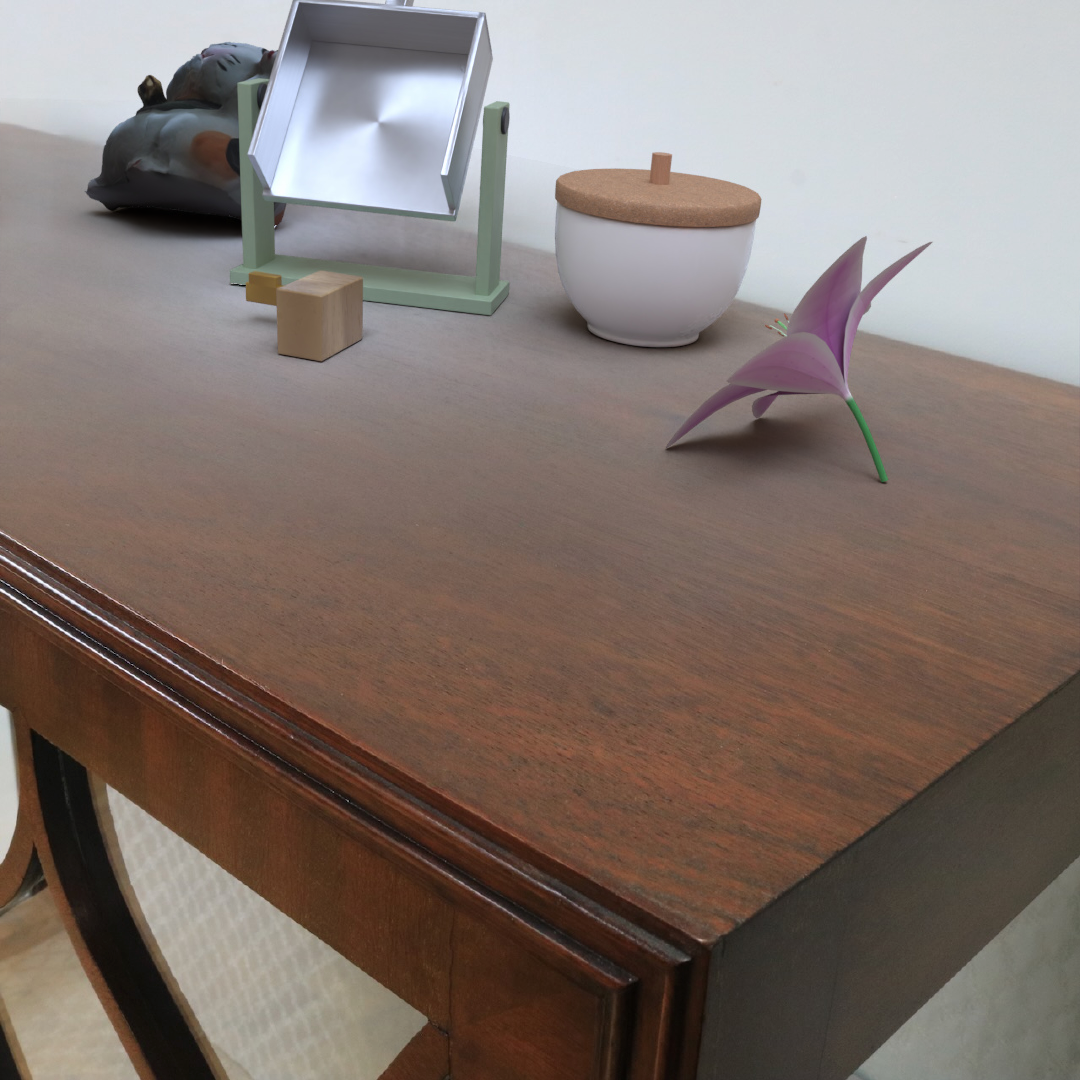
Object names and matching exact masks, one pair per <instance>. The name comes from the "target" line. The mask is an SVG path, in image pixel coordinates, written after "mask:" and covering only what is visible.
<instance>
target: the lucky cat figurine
mask: <svg viewBox="0 0 1080 1080" xmlns="http://www.w3.org/2000/svg"><path fill="white" fill-rule="evenodd" d="M277 52H278V49H276V50H275V49H271V50H268V49H267V48H264V47H261V46H258V45H257V46H256V45H253V44H250V43H242V42H234V41H233V42H231V41H225V42H219V43H212V44H211V43H210V45H209V46H208V47H205V48H203V49H202V50H201V52H200V53H196V54H195V55H193V56H192V57H191V58H190V60H187V61H186V62H185V63H184V64H182V65H180V66H179V67H178V68H177V69H176V71H175V72H174V74H173V76H172V79H171V80H170V82H169V83H168V85H167V87H166V90H165V93H164V89H163V86H162V82H161V80H160V79H158V78H157V77H155V76H154V75H152V74H148V75H146V76H145V78H144V79H143V81H142V82H141V83H140V84H139V85H138V87H137V94H138V96H139V99H140V100H141V103H142V104H143V105H142V107H140V108H139V109H138V110H136V112H135V114H134V116H132V117H129V118H127V119H126V120H124V121H122V122H120V123H118V125H116V126H114V128H113V129H112V131H111V132H109V135H108V136H107V139H106V140H105V144H104V146H103V149H102V159H101V173H100V174H99V176H97V177H95V178H94V177H93V178H91V180H89V182H88V184H87V189H86V190H84V193H85V194H86V195H87V196H88V197H89V198H90V199H91V200H93V201H94V200H95V201H98V202H99V203H101V204H102V205H103V206H104V207H105V208H106V209H107V210H109V211H111V212H114V211H116V210H118V209H138V208H139V209H140V208H141V209H142V208H143V209H144V208H155V209H164V210H172V211H181V212H187V213H196V214H204V215H211V216H220V217H229V218H234V219H236V220H240V221H242V210H241V180H240V149H239V118H238V88H237V83H239V82H243V81H248V80H253V79H258V78H261V79H270V76H271V72H272V69H273V65H274V62H275V59H276V55H277ZM286 207H287V203H280V202H274V226H275V225H277V226H279V225H280V224H281V222H282V221H283V219H284V216H285V210H286Z"/></svg>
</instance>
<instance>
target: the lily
mask: <svg viewBox="0 0 1080 1080" xmlns="http://www.w3.org/2000/svg"><path fill="white" fill-rule="evenodd" d="M867 240H868V237H867V235H865V236H863V237H861V238H860V239H859V240H857V241H855V243H853V244H852V245H851V246H850V247H848V249H846V250H845V251H844V252H843V253H842V254H841V255H840V256H839V257H837V258H836V260H835V261H833V263H831V265H829V267H828V268H827V269H826V270H825V271H824V272H823V273H822V274H821V275H820V276H819V278H818V279H817V280H816V281H814V283H812V286H811V287H810V288H809V289H808V290H807V291H806V292H805V294H804V295H803V297H802V298H801V300H800V301H799V303H798V304H797V305H796V307H795V308H794V310H793V312H792V314H791V316H790V320H789V317H788V315H787V314H786V313H783V316H784V318H785V320H786V322H787V323H788V325H787V326H786V325H785V324H784V323H783V322H782V321H780V319H779V318H775V319H774V323H775V324H777V325H779V326H780V327H781V328H782V329H784V330H785V331H786V334H785V333H784V331H782V330H780V329H778V328H777V327H775V326H773V325H768V324H765V325H764V327H766V328H767V329H769V330H773V329H774V330H776V331H777V334H778V335H779V336H781V337H783V338H781V339H779V340H777V341H775V342H773V343H772V344H770V345H768V347H766V348H764V349H762V350H761V351H759V352H758V353H757V354H755V355H754V356H752V357H751V358H750V359H748V360H747V361H746V362H744V364H742V365H741V366H740V367H739V368H737V370H735V371H734V372H733V374H731V376H729V378H728V379H727V380H726V382H727V383H729V384H727V385H725V386H723V387H722V388H721V389H719V390H718V391H717V392H715V393H714V394H713V395H711V396H710V397H709V398H707V399H706V400H705V401H704V402H703V403H702V404H701V405H700V406H699V407H698V408H697V409H696V410H695V411H694V412H693V413H692V414H691V415H690V416H689V417H688V418H687V419H686V420H685V421H684V423H683V424H682V425H681V426H680V427H679V428H678V429H677V431H676V432H675V433H674V434H673V436H672V437H671V438H670V440H669V441H668V442H667V443H666V446H665V448H664V449H668V448H669V447H671V446H672V445H673V444H675V443H676V442H677V441H680V439H681V438H683V437H684V436H685V435H686V434H688V433H689V432H690V431H691V430H693V429H694V428H695V427H697V426H698V425H699V424H701V423H702V422H704V421H705V420H706V419H708V418H709V417H710V416H712V415H713V414H714V413H716V412H717V411H719V410H721V409H723V408H725V407H727V406H729V405H730V404H732V403H734V402H736V401H739V400H741V399H744V398H746V397H748V396H750V395H754V394H757V393H761V392H765V391H776V392H772V393H770V394H766V395H763V396H760V397H758V398H756V399H755V400H754V401H753V402H752V405H751V412H752V415H753V417H754V418H755V419H760V418H761V417H762V416H763V415H764V414H765V413H766V411H767V410H768V409H769V407H770V406H771V405H772V404H773V402H774V401H775V400H776V399H777V398H778V396H791V395H794V396H795V395H823V394H824V395H825V394H827V395H835V396H838V397H840V398H842V400H844V402H845V403H846V405H847V407H848V408H849V410H850V411H851V413H852V414H853V416H854V418H855V420H856V422H857V425H858V426H859V428H860V430H861V433H862V435H863V438H864V440H865V442H866V446H867V448H868V450H869V453H870V455H871V458H872V461H873V463H874V467H875V469H876V472H877V474H878V477H879V481H880V482H881V483H885V482H887V481H889V478H888V474H887V473H886V470H885V467H884V464H883V460H882V458H881V455H880V453H879V450H878V447H877V445H876V443H875V440H874V437H873V435H872V432H871V430H870V428H869V426H868V424H867V422H866V419H865V418H864V416H863V413H862V411H861V410H860V408H859V405H858V404H857V402H856V400H855V399H854V397H853V395H852V393H851V391H850V388H849V385H848V375H849V365H850V359H851V355H852V351H853V345H854V341H855V338H856V334H857V331H858V328H859V325H860V322H861V320H862V318H863V316H864V315H866V314H867V313H868V312H869V311H870V309H871V307H872V301H873V300H874V298H876V296H877V295H878V294H880V292H881V291H882V290H883V289H884V288H885V287H886V285H888V283H890V282H891V281H892V280H893V279H894V278H895V277H896V276H897V275H898V274H899V273H900V272H901V271H902V270H904V269H905V267H907V266H908V265H909V264H910V263H912V261H914V260H915V259H916V258H917V257H918V256H919V255H920V254H921V253H923V252H924V251H925V250H926V249H928V248H929V247H930V246H931V245H932V244H933V243H934V241H929V242H926V243H925V244H923V245H920V246H918V247H916V248H914V249H913V250H911V251H910V252H908V253H906V255H904V256H902V257H900V258H899V259H897V260H896V261H894V262H893V263H892V264H890V265H889V266H888V267H886V268H885V269H883V270H882V271H881V272H879V273H878V274H877V275H876V276H874V277H873V279H871V280H870V281H869V282H868V283H867V284H866V285H865V286H864V288H862V281H863V260H864V253H865V248H866V245H867Z"/></svg>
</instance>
